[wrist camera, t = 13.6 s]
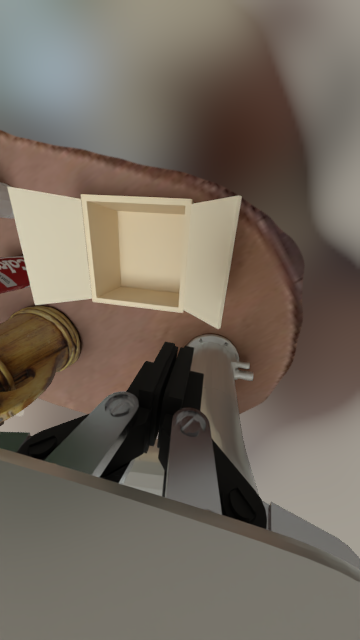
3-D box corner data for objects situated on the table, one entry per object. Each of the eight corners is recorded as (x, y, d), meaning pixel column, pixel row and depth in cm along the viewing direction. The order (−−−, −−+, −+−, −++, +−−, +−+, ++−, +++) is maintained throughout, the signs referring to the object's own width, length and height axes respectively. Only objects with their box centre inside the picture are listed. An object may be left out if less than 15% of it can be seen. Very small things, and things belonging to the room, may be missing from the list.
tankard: (9, 303, 49) (-168, 355, 27) (92, 306, 45) (-33, 370, 23) (31, 362, 56) (-96, 444, 33) (105, 369, 52) (18, 468, 29)
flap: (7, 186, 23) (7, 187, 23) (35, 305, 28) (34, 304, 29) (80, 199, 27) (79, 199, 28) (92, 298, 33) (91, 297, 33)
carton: (198, 210, 34) (191, 198, 25) (190, 297, 40) (182, 312, 31) (114, 206, 36) (80, 194, 27) (119, 289, 43) (92, 301, 33)
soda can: (44, 288, 46) (-10, 302, 35) (19, 280, 46) (-43, 292, 35) (43, 260, 43) (-16, 265, 32) (16, 252, 44) (-51, 255, 33)
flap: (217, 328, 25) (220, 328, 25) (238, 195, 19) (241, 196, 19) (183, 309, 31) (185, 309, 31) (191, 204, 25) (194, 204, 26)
